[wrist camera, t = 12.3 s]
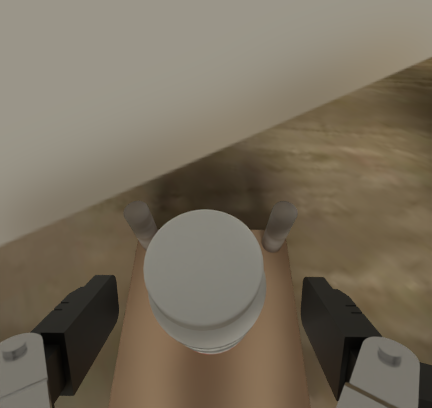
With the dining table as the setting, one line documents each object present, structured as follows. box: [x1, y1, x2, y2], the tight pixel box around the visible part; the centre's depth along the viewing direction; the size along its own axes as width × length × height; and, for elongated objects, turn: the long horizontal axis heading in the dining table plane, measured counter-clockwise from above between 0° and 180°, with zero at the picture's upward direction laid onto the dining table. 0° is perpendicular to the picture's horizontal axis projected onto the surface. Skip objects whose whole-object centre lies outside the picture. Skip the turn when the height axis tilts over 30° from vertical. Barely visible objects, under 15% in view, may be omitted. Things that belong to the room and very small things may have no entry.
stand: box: [108, 201, 311, 408], centre depth 18 cm, size 12×12×8 cm
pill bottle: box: [143, 209, 266, 354], centre depth 14 cm, size 6×6×10 cm
